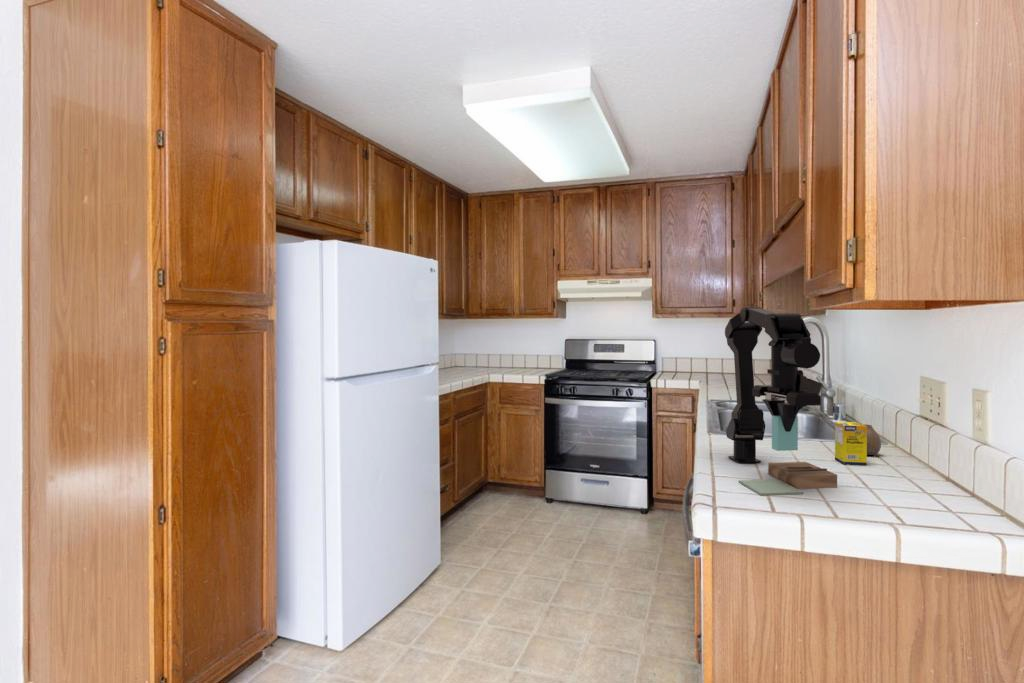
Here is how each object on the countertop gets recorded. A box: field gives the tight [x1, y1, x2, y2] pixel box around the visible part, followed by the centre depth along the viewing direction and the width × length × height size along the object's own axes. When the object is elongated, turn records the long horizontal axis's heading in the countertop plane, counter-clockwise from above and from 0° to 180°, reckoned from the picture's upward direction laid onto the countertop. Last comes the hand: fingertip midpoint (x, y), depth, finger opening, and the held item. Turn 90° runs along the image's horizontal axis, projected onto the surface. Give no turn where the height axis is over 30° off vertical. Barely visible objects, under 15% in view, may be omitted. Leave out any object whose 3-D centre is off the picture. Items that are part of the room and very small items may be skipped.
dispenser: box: [767, 461, 838, 490], centre depth 129 cm, size 12×10×3 cm
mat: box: [738, 478, 804, 496], centre depth 124 cm, size 10×10×1 cm
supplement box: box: [834, 421, 868, 466], centre depth 146 cm, size 6×6×11 cm
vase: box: [862, 423, 882, 456], centre depth 155 cm, size 7×7×9 cm
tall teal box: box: [771, 415, 799, 452], centre depth 126 cm, size 2×5×8 cm, turn 95°
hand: (784, 430), depth 126 cm, fingers closed on tall teal box, 2 cm apart
